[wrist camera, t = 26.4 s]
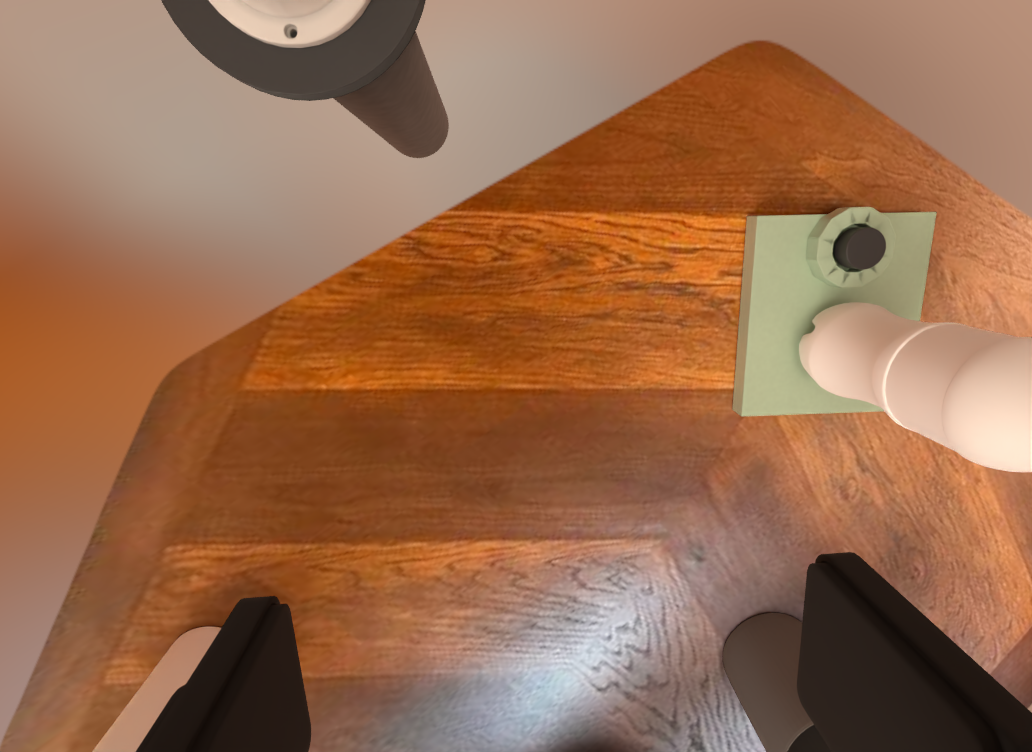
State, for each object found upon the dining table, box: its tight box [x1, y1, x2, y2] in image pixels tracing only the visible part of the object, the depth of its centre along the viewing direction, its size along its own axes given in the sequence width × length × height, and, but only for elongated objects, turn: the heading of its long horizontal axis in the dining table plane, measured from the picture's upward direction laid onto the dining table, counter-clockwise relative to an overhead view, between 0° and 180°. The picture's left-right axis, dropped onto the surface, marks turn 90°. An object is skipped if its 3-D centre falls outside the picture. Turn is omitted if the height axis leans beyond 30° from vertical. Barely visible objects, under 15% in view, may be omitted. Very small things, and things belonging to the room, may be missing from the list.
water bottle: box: [799, 302, 1032, 472], centre depth 35 cm, size 7×7×25 cm
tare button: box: [834, 227, 886, 270], centre depth 43 cm, size 3×3×2 cm
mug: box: [723, 613, 832, 752], centre depth 51 cm, size 14×9×12 cm
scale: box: [732, 207, 937, 416], centre depth 47 cm, size 16×14×4 cm
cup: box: [92, 627, 221, 752], centre depth 46 cm, size 8×8×16 cm
